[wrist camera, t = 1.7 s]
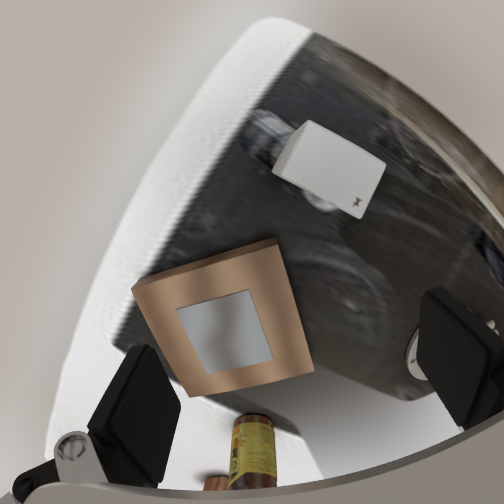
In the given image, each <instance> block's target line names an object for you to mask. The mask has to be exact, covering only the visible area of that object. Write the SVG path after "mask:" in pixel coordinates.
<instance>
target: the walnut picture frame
mask: <svg viewBox="0 0 504 504" xmlns="http://www.w3.org/2000/svg"><path fill="white" fill-rule="evenodd" d="M131 291H132V293H133V295H134V297H135V300H136V302H137V304H138V306H139V308H140V310H141V312H142V314H143V316H144V318H145V320H146V322H147V324H148V326H149V328H150V330H151V331H152V333H153V335H154V337H155V339H156V341H157V343H158V345H159V346H160V348H161V350H162V352H163V354H164V355H165V357H166V359H167V361H168V362H169V364H170V366H171V368H172V369H173V371H174V373H175V375H176V376H177V378H178V380H179V381H180V383H181V385H182V386H183V388H184V389H185V391H186V393H187V394H188V396H189V397H190V398H191V397H197V396H204V395H210V394H216V393H221V392H227V391H232V390H237V389H242V388H247V387H252V386H256V385H261V384H265V383H270V382H274V381H278V380H282V379H286V378H290V377H294V376H298V375H301V374H305V373H309V372H312V371H314V366H313V362H312V358H311V355H310V351H309V347H308V344H307V340H306V337H305V333H304V330H303V326H302V323H301V319H300V316H299V312H298V309H297V305H296V302H295V299H294V295H293V292H292V288H291V285H290V282H289V278H288V275H287V272H286V268H285V265H284V262H283V259H282V255H281V252H280V249H279V245H278V242H277V239H276V237H273V238H269V239H266V240H263V241H260V242H256V243H253V244H250V245H247V246H243V247H240V248H237V249H233V250H230V251H227V252H224V253H220V254H217V255H214V256H211V257H208V258H204V259H201V260H198V261H195V262H191V263H188V264H185V265H182V266H179V267H175V268H172V269H169V270H166V271H163V272H159V273H156V274H153V275H150V276H147V277H143V278H140V279H139V280H138V281H137V283H136V284H135V285H134V286H133V287H132V288H131Z"/></svg>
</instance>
